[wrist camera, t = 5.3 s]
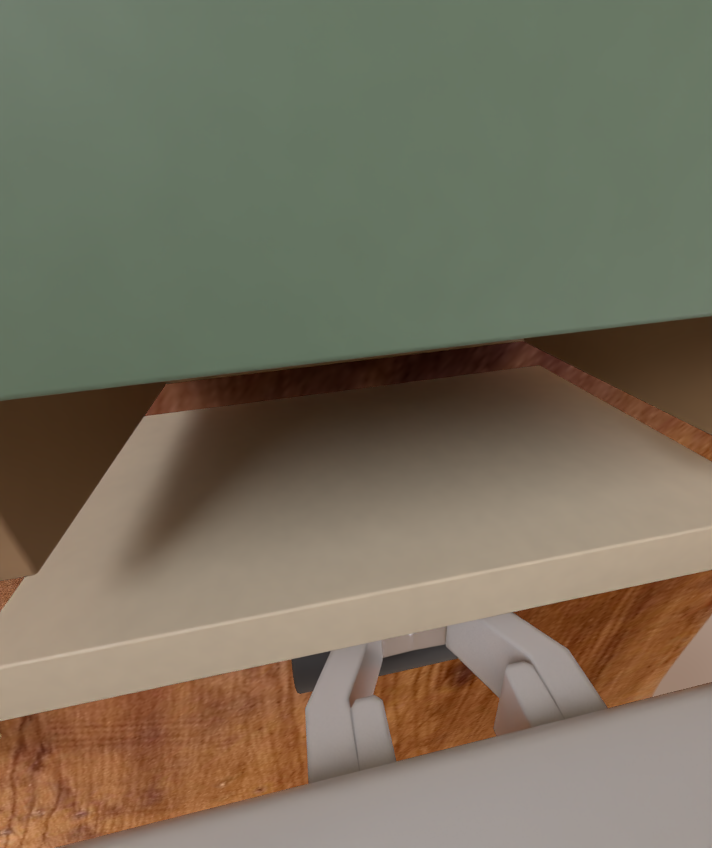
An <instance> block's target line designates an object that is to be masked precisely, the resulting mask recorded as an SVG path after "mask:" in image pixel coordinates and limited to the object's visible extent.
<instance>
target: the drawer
mask: <svg viewBox="0 0 712 848" xmlns="http://www.w3.org/2000/svg"><path fill="white" fill-rule="evenodd" d="M520 341H524V342H526V343H528V344H530V345H532V346H534V347H536V348H538V349H540V350H542V351H544V352H546V353H548V354H550V355H552V356H554V357H556V358H558V359H560V360H562V361H564V362H566V363H568V364H570V365H572V366H574V367H576V368H578V369H580V370H582V371H584V372H586V373H588V374H590V375H592V376H594V377H596V378H598V379H600V380H602V381H604V382H606V383H608V384H610V385H612V386H614V387H616V388H618V389H620V390H622V391H624V392H626V393H628V394H630V395H632V396H634V397H636V398H638V399H640V400H642V401H644V402H646V403H648V404H650V405H652V406H654V407H656V408H658V409H660V410H662V411H664V412H666V413H668V414H670V415H672V416H674V417H676V418H678V419H680V420H682V421H684V422H686V423H688V424H690V425H692V426H694V427H696V428H698V429H700V430H702V431H704V432H706V433H708V434H710V435H712V316H708V317H700V318H691V319H683V320H675V321H666V322H658V323H649V324H641V325H633V326H624V327H616V328H607V329H599V330H591V331H582V332H574V333H566V334H557V335H549V336H540V337H532V338H524V339H515V340H507V341H499V342H490V343H482V344H473V345H465V346H457V347H448V348H440V349H431V350H423V351H415V352H406V353H398V354H390V355H381V356H373V357H364V358H356V359H348V360H339V361H331V362H323V363H314V364H306V365H297V366H289V367H281V368H272V369H264V370H255V371H247V372H239V373H230V374H222V375H214V376H205V377H197V378H188V379H180V380H172V381H163V382H155V383H147V384H138V385H130V386H121V387H113V388H105V389H96V390H88V391H79V392H71V393H63V394H54V395H46V396H38V397H29V398H21V399H12V400H4V401H0V581H4V580H9V579H15V578H21V577H25V578H24V579H23V580H22V582H21V583H20V585H19V586H18V588H17V589H16V590H15V592H14V593H13V595H12V596H11V597H10V599H9V600H8V602H7V603H6V605H5V606H4V607H3V609H2V610H1V612H0V721H4V720H9V719H13V718H18V717H23V716H27V715H32V714H37V713H41V712H46V711H51V710H55V709H60V708H65V707H70V706H74V705H79V704H84V703H88V702H93V701H98V700H102V699H107V698H112V697H117V696H121V695H126V694H131V693H135V692H140V691H145V690H149V689H154V688H159V687H163V686H168V685H173V684H178V683H182V682H187V681H192V680H196V679H201V678H206V677H210V676H215V675H220V674H224V673H229V672H234V671H239V670H243V669H248V668H253V667H257V666H262V665H267V664H271V663H276V662H281V661H285V660H290V659H291V660H292V670H293V678H294V684H295V688H296V691H297V693H300V694H302V693H306V692H311V691H313V690H314V688H315V686H316V683H317V681H318V679H319V677H320V674H321V672H322V670H323V668H324V665H325V663H326V661H327V659H328V656H329V654H330V652H331V651H332V650H337V649H342V648H346V647H351V646H356V645H361V644H365V643H370V642H375V641H379V640H384V639H389V638H393V637H398V636H403V635H407V634H412V633H417V632H422V631H426V630H431V629H436V628H440V627H445V626H450V625H454V624H459V623H464V622H468V621H473V620H478V619H483V618H487V617H492V616H497V615H501V614H506V613H511V612H515V611H520V610H525V609H529V608H534V607H539V606H544V605H548V604H553V603H558V602H562V601H567V600H572V599H576V598H581V597H586V596H590V595H595V594H600V593H605V592H609V591H614V590H619V589H623V588H628V587H633V586H637V585H642V584H647V583H652V582H656V581H661V580H666V579H670V578H675V577H680V576H684V575H689V574H694V573H698V572H703V571H708V570H712V462H711V461H710V460H708V459H706V458H704V457H702V456H701V455H699V454H697V453H695V452H693V451H692V450H690V449H688V448H686V447H685V446H683V445H681V444H679V443H677V442H676V441H674V440H672V439H670V438H668V437H667V436H665V435H663V434H661V433H660V432H658V431H656V430H654V429H652V428H651V427H649V426H647V425H645V424H643V423H642V422H640V421H638V420H636V419H635V418H633V417H631V416H629V415H627V414H626V413H624V412H622V411H620V410H618V409H617V408H615V407H613V406H611V405H610V404H608V403H606V402H604V401H602V400H601V399H599V398H597V397H595V396H593V395H592V394H590V393H588V392H586V391H585V390H583V389H581V388H579V387H577V386H576V385H574V384H572V383H570V382H568V381H567V380H565V379H563V378H561V377H560V376H558V375H556V374H554V373H552V372H551V371H549V370H547V369H545V368H543V367H542V366H540V365H537V366H530V367H522V368H514V369H506V370H499V371H491V372H483V373H475V374H468V375H460V376H452V377H445V378H437V379H429V380H421V381H414V382H406V383H398V384H390V385H383V386H375V387H367V388H359V389H352V390H344V391H336V392H328V393H321V394H313V395H305V396H298V397H290V398H282V399H274V400H267V401H259V402H251V403H243V404H236V405H228V406H220V407H212V408H205V409H197V410H189V411H181V412H174V413H166V414H158V415H151V416H145V414H146V413H147V411H148V410H149V408H150V407H151V405H152V404H153V403H154V401H155V400H156V398H157V397H158V395H159V394H160V392H161V391H162V389H163V388H164V386H165V384H170V383H179V382H187V381H195V380H204V379H212V378H220V377H229V376H237V375H245V374H254V373H262V372H270V371H279V370H287V369H295V368H304V367H312V366H320V365H329V364H337V363H345V362H354V361H362V360H370V359H378V358H387V357H395V356H403V355H412V354H420V353H428V352H437V351H445V350H453V349H462V348H470V347H478V346H487V345H495V344H503V343H512V342H520ZM457 658H458V657H457V656H455V655H454V654H453V653H452V652H451V651H450V650H449V649H448V648H447V647H446V644H444V645H439V646H434V647H428V648H423V649H418V650H413V651H409V652H405V653H401V654H397V655H393V656H389V657H385V658H383V661H382V664H381V668H380V672H379V675H378V676H382V675H386V674H391V673H395V672H400V671H404V670H408V669H413V668H417V667H422V666H426V665H431V664H435V663H440V662H444V661H448V660H453V659H457Z"/></svg>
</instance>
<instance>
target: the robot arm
mask: <svg viewBox="0 0 712 848" xmlns="http://www.w3.org/2000/svg"><path fill="white" fill-rule="evenodd" d="M444 644H446V647H447V648H448V649H449V650H450V651H451V652H452V653H453V654H454V655H455V656H457V657H458V658H459V659H460V660H461V661H462V662H463V663H464V664H465V665H466V666H467V667H468V668H469V669H470V670H471V671H472V672H473V673H474V674H475V675H476V676H477V677H478V678H479V679H480V680H481V681H482V682H483V683H484V684H485V685H487V686H488V687H489V688H490V689H491V690H492V691H493V692H494V693H495V694H496V695H497V696H498V697H499V698H500V699H499V704H498V709H497V714H496V718H495V723H494V728H493V729H494V731H495V733H496V737H492V738H488V739H484V740H480V741H476V742H472V743H468V744H464V745H460V746H456V747H452V748H448V749H444V750H440V751H436V752H432V753H428V754H424V755H420V756H416V757H412V758H408V759H404V760H400V761H396V758H395V754H394V749H393V745H392V740H391V736H390V731H389V727H388V722H387V718H386V713H385V709H384V705H383V700H382V699H380V698H379V697H377V696H375V695H373V693H374V689H375V686H376V682H377V679H378V675H379V672H380V668H381V664H382V661H383V658H385V657H389V656H393V655H397V654H401V653H405V652H409V651H413V650H418V649H423V648H428V647H434V646H439V645H444ZM305 715H306V737H307V758H308V780H309V784H305V785H301V786H297V787H293V788H289V789H286V790H282V791H278V792H274V793H270V794H266V795H262V796H258V797H254V798H250V799H246V800H242V801H238V802H234V803H230V804H226V805H222V806H218V807H214V808H210V809H206V810H202V811H198V812H194V813H190V814H186V815H182V816H179V817H175V818H171V819H167V820H163V821H159V822H155V823H151V824H147V825H143V826H139V827H135V828H131V829H127V830H123V831H119V832H115V833H111V834H107V835H103V836H99V837H95V838H91V839H87V840H83V841H79V842H75V843H72V844H68V845H64V846H60V847H56V848H712V682H711V683H706V684H703V685H698V686H695V687H691V688H687V689H683V690H679V691H675V692H671V693H667V694H663V695H659V696H655V697H651V698H647V699H643V700H639V701H635V702H631V703H627V704H623V705H619V706H615V707H611V708H607V706H606V705H605V703H604V702H603V700H602V699H601V697H600V696H599V694H598V693H597V691H596V690H595V688H594V687H593V685H592V684H591V682H590V681H589V679H588V678H587V676H586V675H585V673H584V672H583V670H582V669H581V667H580V666H579V665H578V663H577V662H576V660H575V659H574V657H573V656H572V654H571V653H570V651H569V650H568V649H567V648H566V647H564V646H563V645H561V644H560V643H558V642H556V641H555V640H553V639H552V638H550V637H549V636H547V635H546V634H544V633H543V632H541V631H540V630H538V629H537V628H535V627H534V626H532V625H531V624H529V623H528V622H526V621H525V620H523V619H522V618H520V617H519V616H517V615H516V614H514V613H513V612H511V613H506V614H501V615H497V616H492V617H487V618H483V619H478V620H473V621H468V622H464V623H459V624H454V625H450V626H445V627H440V628H436V629H431V630H426V631H422V632H417V633H412V634H407V635H403V636H398V637H393V638H389V639H384V640H379V641H375V642H370V643H365V644H361V645H356V646H351V647H346V648H342V649H337V650H332V651H331V652H330V654H329V656H328V659H327V661H326V663H325V665H324V668H323V670H322V672H321V674H320V677H319V679H318V681H317V683H316V686H315V688H314V690H313V692H312V695H311V697H310V699H309V701H308V704H307V706H306V708H305Z"/></svg>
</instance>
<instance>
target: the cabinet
mask: <svg viewBox="0 0 712 848" xmlns="http://www.w3.org/2000/svg"><path fill="white" fill-rule="evenodd" d="M708 316H712V0H0V401H4V400H12V399H21V398H29V397H38V396H46V395H54V394H63V393H71V392H79V391H88V390H96V389H105V388H113V387H121V386H130V385H138V384H147V383H155V382H163V381H172V380H180V379H188V378H197V377H205V376H214V375H222V374H230V373H239V372H247V371H255V370H264V369H272V368H281V367H289V366H297V365H306V364H314V363H323V362H331V361H339V360H348V359H356V358H364V357H373V356H381V355H390V354H398V353H406V352H415V351H423V350H431V349H440V348H448V347H457V346H465V345H473V344H482V343H490V342H499V341H507V340H515V339H524V338H532V337H540V336H549V335H557V334H566V333H574V332H582V331H591V330H599V329H607V328H616V327H624V326H633V325H641V324H649V323H658V322H666V321H675V320H683V319H691V318H700V317H708Z"/></svg>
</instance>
